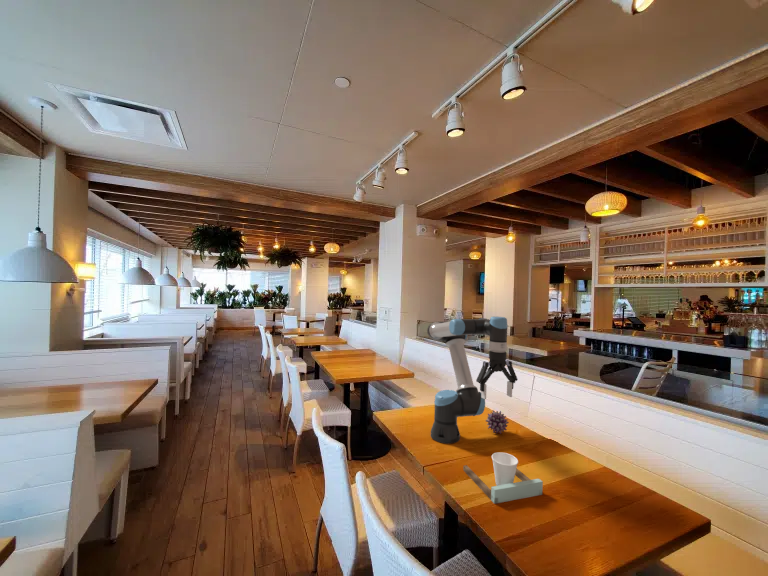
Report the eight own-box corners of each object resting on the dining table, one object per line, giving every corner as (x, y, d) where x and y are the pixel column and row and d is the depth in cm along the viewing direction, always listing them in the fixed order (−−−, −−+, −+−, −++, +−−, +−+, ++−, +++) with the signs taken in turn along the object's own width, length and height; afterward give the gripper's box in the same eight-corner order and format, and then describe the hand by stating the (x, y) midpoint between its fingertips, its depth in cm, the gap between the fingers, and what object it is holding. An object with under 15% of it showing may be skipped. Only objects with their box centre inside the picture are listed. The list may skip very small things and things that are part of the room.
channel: (463, 470, 139) (463, 465, 139) (505, 463, 145) (505, 459, 145) (494, 503, 118) (494, 498, 118) (542, 494, 124) (542, 489, 124)
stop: (491, 500, 120) (491, 486, 120) (538, 491, 126) (538, 478, 126) (494, 503, 118) (494, 490, 118) (542, 494, 124) (542, 481, 124)
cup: (520, 495, 123) (520, 467, 122) (492, 492, 124) (493, 463, 124) (514, 480, 132) (515, 453, 132) (489, 477, 134) (490, 450, 134)
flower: (510, 431, 178) (510, 409, 178) (505, 439, 168) (506, 417, 168) (488, 426, 184) (489, 405, 184) (483, 434, 174) (483, 412, 174)
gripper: (478, 353, 141) (477, 402, 141) (526, 351, 147) (525, 397, 148) (469, 350, 148) (468, 396, 148) (515, 348, 155) (514, 392, 155)
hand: (496, 397), depth 148 cm, fingers open, 13 cm apart
